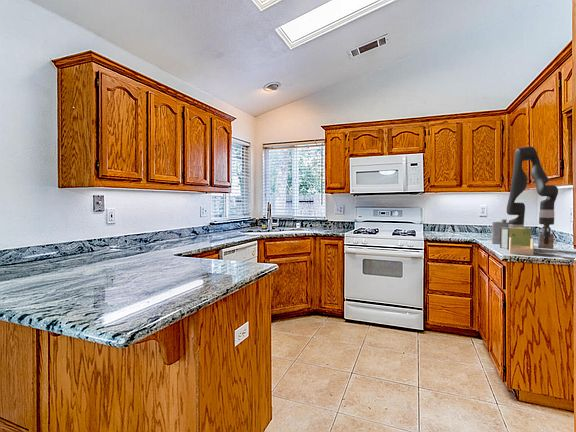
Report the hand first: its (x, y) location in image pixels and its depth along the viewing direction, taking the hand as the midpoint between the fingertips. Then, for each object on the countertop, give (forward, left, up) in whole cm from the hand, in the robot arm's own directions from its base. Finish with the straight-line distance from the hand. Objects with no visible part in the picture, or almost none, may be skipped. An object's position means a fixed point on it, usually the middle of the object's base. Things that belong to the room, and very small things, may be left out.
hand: (545, 243), depth 208 cm
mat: (0, 0, -8) cm, 8 cm away
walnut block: (0, 0, -3) cm, 3 cm away
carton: (0, -13, -8) cm, 15 cm away
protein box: (-20, -15, -8) cm, 26 cm away
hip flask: (-49, -21, -8) cm, 54 cm away
